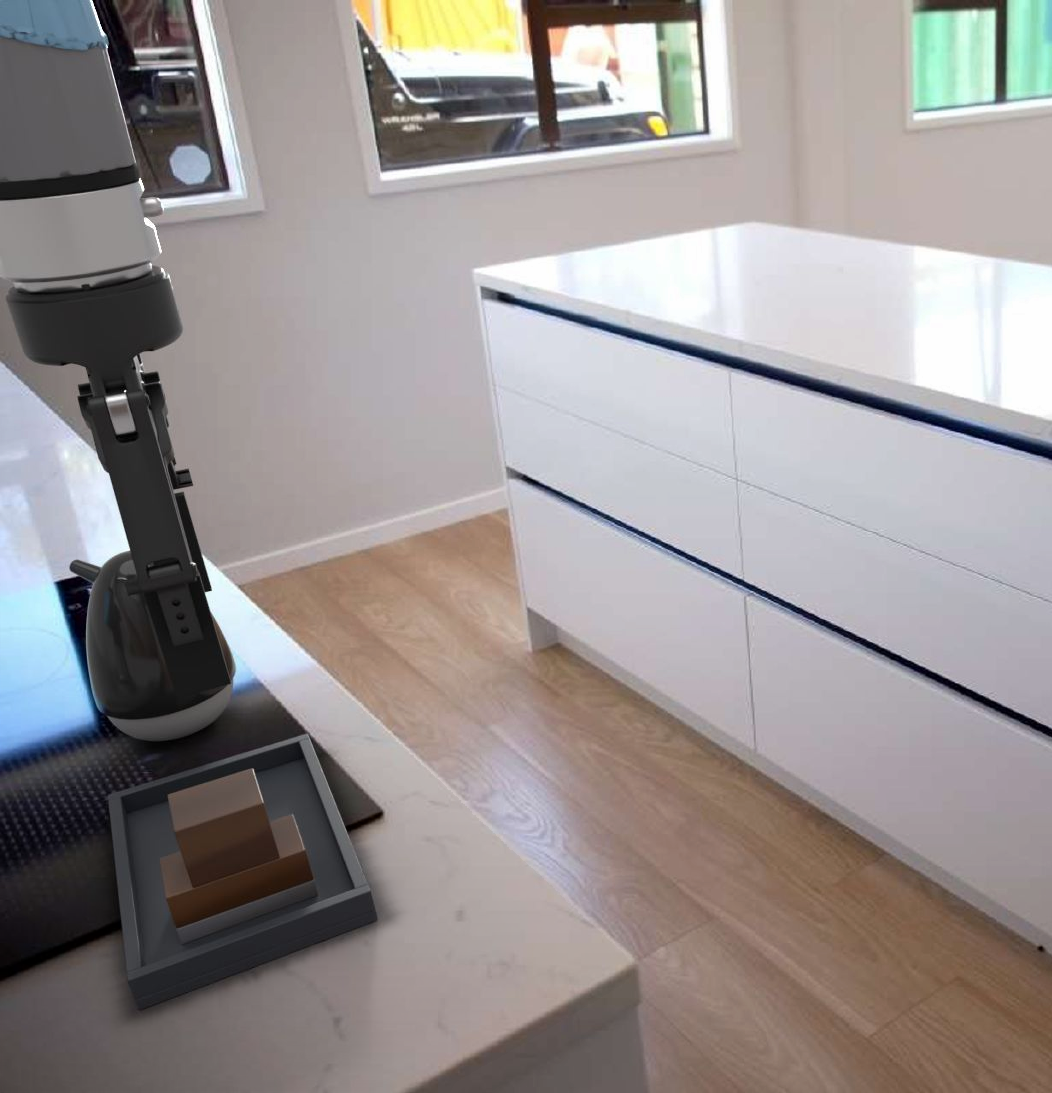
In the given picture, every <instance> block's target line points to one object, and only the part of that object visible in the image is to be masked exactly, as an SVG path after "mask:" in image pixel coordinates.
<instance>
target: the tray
mask: <svg viewBox="0 0 1052 1093" xmlns="http://www.w3.org/2000/svg"><path fill="white" fill-rule="evenodd" d="M251 768H253V769H254V771H255V775H256V778H257V781H258V784H259V788H260V791H261V794H262V797H263V801H264V804H265V807H266V811H267V814H268V818H269V821H270V822H271V821H274V820H277V819H280V818H283V817H286V816H289V815H292V814H293V815H294V817H295V820H296V823H297V826H298V829H299V832H300V835H301V838H302V841H303V844H304V846H305V849H306V853H307V856H308V860H309V864H310V867H311V871H312V874H313V878H314V881H315V885H316V889H317V892H318V895H317V896H314V897H311V898H308V899H306V900H303V901H300V902H297V903H295V904H292V905H289V906H286V907H284V908H281V909H278V910H275V911H273V912H270V913H267V914H264V915H262V916H259V917H256V918H253V919H251V920H248V921H245V922H242V923H240V924H237V925H234V926H231V927H229V928H226V929H223V930H220V931H218V932H215V933H212V934H209V935H207V936H204V937H201V938H198V939H196V940H193V941H190V942H187V943H185V944H181V941H180V939H179V936H178V933H177V930H176V927H175V924H174V921H173V918H172V915H171V912H170V909H169V906H168V904H167V901H166V897H165V891H164V884H163V878H162V872H161V866H160V858H163V857H166V856H169V855H172V854H175V853H178V852H181V851H180V848H179V845H178V842H177V839H176V836H175V833H174V828H173V823H172V818H171V812H170V807H169V801H168V795H169V794H172V793H175V792H178V791H181V790H184V789H187V788H191V787H194V786H197V785H200V784H203V783H207V782H210V781H213V780H216V779H219V778H223V777H226V776H229V775H232V774H235V773H239V772H242V771H245V770H248V769H251ZM107 802H108V810H109V819H110V821H109V822H110V829H111V830H110V831H111V838H112V847H113V858H114V865H115V877H116V884H117V885H116V886H117V895H118V903H119V913H120V923H121V931H122V941H123V951H124V960H125V968H126V970H125V971H126V978H127V980H126V981H127V983H128V985H129V988H130V991H131V994H132V996H133V999H134V1002H135V1004H136V1007H137V1009H138V1011H142V1010H143V1009H146V1008H150V1007H152V1006H154V1005H155V1006H156V1005H157V1004H160V1003H162V1002H164V1001H168V1000H170V999H173V998H176V997H178V996H180V995H183V994H186V993H189V992H191V991H194V990H196V989H199V988H202V987H205V986H207V985H211V984H213V983H215V982H218V981H221V980H222V979H226V978H228V977H231V976H233V975H236V974H239V973H242V972H245V971H247V970H249V969H252V968H254V967H258V966H260V965H262V964H265V963H268V962H270V961H273V960H276V959H278V958H281V957H285V956H286V955H289V954H291V953H294V952H296V951H299V950H303V949H304V948H307V947H310V946H313V945H315V944H318V943H321V942H323V941H326V940H328V939H331V938H333V937H336V936H338V935H342V934H344V933H347V932H349V931H352V930H354V929H357V928H360V927H362V926H365V925H368V924H370V923H373V922H376V921H378V920H379V917H378V914H377V910H376V906H375V902H374V899H373V898H374V897H373V895H372V894H373V893H372V891H371V888H370V886H369V882H368V881H367V880H368V879H367V878H366V875H365V873H364V871H363V868H362V866H361V863H360V860H359V858H358V856H357V852H356V850H355V848H354V846H353V843H352V840H351V838H350V834H348V830H347V828H346V826H345V823H344V821H343V818H342V816H341V812H340V810H339V807H338V805H337V803H336V801H335V798H334V796H333V793H332V790H331V788H330V785H329V784H328V781H327V778H326V775H325V773H324V771H323V767H322V765H321V762H320V760H319V757H318V755H317V753H316V751H315V747H314V744H313V743H312V741H311V737H310V735H309V733H304V734H301V735H299V736H295V737H292V738H288V739H285V740H282V741H278V742H276V743H272V744H269V745H266V746H262V747H259V748H256V749H253V750H250V751H246V752H242V753H239V754H236V755H233V756H230V757H226V758H223V759H220V760H216V761H214V762H210V763H206V764H204V765H201V766H198V767H194V768H191V769H188V770H184V771H180V772H177V773H175V774H171V775H167V776H164V777H162V778H158V779H155V780H152V781H148V782H146V783H141V784H139V785H135V786H133V787H129V788H126V789H122V790H119V791H116V792H112V793H109V794H108V795H107Z"/></svg>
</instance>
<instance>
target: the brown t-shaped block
mask: <svg viewBox="0 0 1052 1093" xmlns="http://www.w3.org/2000/svg"><path fill="white" fill-rule="evenodd" d="M168 801H169V807H170V812H171V818H172V823H173V828H174V833H175V836H176V839H177V842H178V845H179V848H180V851H181V852H178V853H175V854H172V855H169V856H166V857H163V858H160V866H161V872H162V878H163V884H164V891H165V897H166V901H167V904H168V906H169V909H170V912H171V915H172V918H173V921H174V924H175V927H176V930H177V933H178V936H179V939H180V941H181V944H185V943H187V942H190V941H193V940H196V939H198V938H201V937H204V936H207V935H209V934H212V933H215V932H218V931H220V930H223V929H226V928H229V927H231V926H234V925H237V924H240V923H242V922H245V921H248V920H251V919H253V918H256V917H259V916H262V915H264V914H267V913H270V912H273V911H275V910H278V909H281V908H284V907H286V906H289V905H292V904H295V903H297V902H300V901H303V900H306V899H308V898H311V897H314V896H317V895H318V892H317V889H316V885H315V881H314V878H313V874H312V871H311V867H310V864H309V860H308V856H307V853H306V849H305V846H304V844H303V841H302V838H301V835H300V832H299V829H298V826H297V823H296V820H295V817H294V815H293V814H292V815H289V816H286V817H283V818H280V819H277V820H274V821H271V822H270V821H269V818H268V814H267V811H266V807H265V804H264V801H263V797H262V794H261V791H260V788H259V784H258V781H257V778H256V775H255V771H254V769H253V768H251V769H248V770H245V771H242V772H239V773H235V774H232V775H229V776H226V777H223V778H219V779H216V780H213V781H210V782H207V783H203V784H200V785H197V786H194V787H191V788H187V789H184V790H181V791H178V792H175V793H172V794H169V795H168Z"/></svg>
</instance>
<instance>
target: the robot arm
mask: <svg viewBox="0 0 1052 1093" xmlns="http://www.w3.org/2000/svg"><path fill="white" fill-rule="evenodd" d="M95 8H96V7H95V6H94V2H93V0H0V278H1V279H3V280H5V281H8V282H9V283H13V286H12V287H10V288H9V290H8V291H7V292H8V294H6V295H5V301H6V304H7V307H8V310H9V313H10V317H11V319H12V322H13V325H14V328H15V331H16V334H17V337H18V340H19V344H20V347H21V350H22V352H23V354H24V356H25V357H26V358H27V359H28V360H30V361H32V362H34V363H36V364H39V365H43V366H52V367H53V366H54V367H64V366H67V365H72V364H73V365H76V366H80V367H83V368H85V371H86V375H87V379H88V382H84V383H78V384H77V390H78V393H79V395H77V403H78V406H79V410H80V415H81V416H82V419H83V422H84V423H85V425H86V427H87V428H88V429H89V430H90V431H91V436H92V439H93V443H94V447H95V451H96V455H97V458H98V461H99V463H100V464H101V467H102V468H103V470H104V472H105V473H107V474H108V475H109V479H110V483H111V488H112V490H113V493H114V498H115V500H116V504H117V509H118V512H119V516H120V518H121V522H122V526H123V530H124V533H125V537H126V540H127V544H128V547H129V551H130V552H131V555H132V559H133V563H134V566H135V570H136V573H137V575H136V577H137V578H134V579H129V580H125V581H124V584H125V587H126V591H127V593H128V595H129V596H131V595H135V594H139V593H143V594H144V597H145V600H146V603H147V606H148V609H149V612H150V615H151V619H152V622H153V625H154V628H155V631H156V634H157V638H158V641H159V644H160V647H161V650H162V653H163V657H164V660H165V663H166V666H167V669H168V672H169V675H170V679H171V682H172V685H173V688H174V691H175V694H176V698H180V697H184V696H188V695H191V694H195V693H199V692H203V691H206V690H210V689H214V688H218V687H221V686H225V685H229V684H231V680H230V676H229V673H228V669H227V666H226V662H225V659H224V656H223V652H222V649H221V645H220V642H219V639H218V635H217V632H216V628H215V625H214V622H213V618H212V615H211V613H212V611H211V607H210V605H209V602H208V598H207V595H206V593H209V592H212V591H213V587H212V584H211V581H210V577H209V573H208V571H207V570H208V569H207V566H206V563H205V560H204V557H203V554H202V549H201V546H200V542H199V539H198V536H197V532H196V529H195V525H194V522H193V518H192V515H191V512H190V509H189V505H188V501H187V498H186V495H185V492H184V491H180V492H174V491H175V490H180V489H185V488H190V487H194V482H193V478H192V475H191V472H190V468H184V469H179V470H176V467H175V466H176V465H177V460H176V457H175V451H174V447H173V443H172V440H171V436H170V432H169V427H170V424H169V419H168V414H169V408H168V404H167V401H166V394H165V391H164V387H163V383H162V379H161V377H160V373H159V371H158V370H156V371H149V372H146V368H145V366H144V362H143V358H142V356H141V354H142V353H145V352H155V351H159V350H161V349H163V348H165V347H168V346H169V345H171V344H173V343H175V342H176V341H178V339H180V337H181V336H182V334H183V331H184V324H183V320H182V317H181V314H180V311H179V310H180V309H179V306H178V302H177V299H176V296H175V295H176V294H175V292H174V288H173V285H172V281H171V277H170V274H169V272H168V271H165V270H164V269H163V267H160V266H157V265H154V264H153V265H152V262H155V261H156V260H158V258H159V256H160V255H161V254H162V249H161V245H160V240H159V239H158V235H157V230H156V227H155V225H154V223H152V222H151V221H150V220H149V218H155V217H160V216H162V215H163V214H164V212H165V207H164V204H163V203H162V202H161V199H160V198H159V197H155V196H150V197H149V196H148V197H142V195H143V193H144V191H145V188H144V185H143V182H142V180H141V178H142V177H141V173H140V169H139V165H138V164H137V163H138V161H137V160H136V158H135V154H134V149H133V146H132V142H131V138H130V134H129V130H128V126H127V123H126V119H125V114H124V110H123V107H122V103H121V98H120V96H119V91H118V88H117V84H116V80H115V76H114V75H115V74H114V72H113V68H112V64H111V61H110V56H109V53H108V48H109V47H108V46H109V45H110V44H109V39H108V36H107V34H106V33H105V32H104V31H103V29H102V26H101V24H100V20H99V17H98V14H97V11H96V9H95ZM152 562H153V564H154V566H149V564H150V563H152Z"/></svg>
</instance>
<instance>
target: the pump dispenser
mask: <svg viewBox="0 0 1052 1093" xmlns="http://www.w3.org/2000/svg"><path fill="white" fill-rule="evenodd" d="M149 566H154V564H153V562H152V563H150V564H149ZM68 567H69V571H70V572H71V573H72V574H75V575H76V576H77V577H81V578H82V579H84V580H86V581H88V582H90V583H92V586H91V589H90V593H89V599H88V605H87V614H86V615H87V616H86V630H85V636H86V637H85V644H86V645H85V646H86V647H85V648H86V660H87V668H88V669H87V670H88V675H89V676H88V677H89V680H90V687H91V691H92V695H93V699H94V702H95V705H96V708H97V709H98V711H99V712H100V713H102V714H103V715H104V716H106V717H107V718H108V720H109V721H110V723H112V725H114V726H115V727H116V728H117V729H118V730H120V731H121V732H122V733H124V734H126V735H127V736H130V737H132V738H134V739H138V740H141V741H148V742H167V741H173V740H177V739H182V738H185V737H189V736H191V735H193V734H195V733H198V732H199V731H201V730H203V729H204V728H207V727H208V726H210V725H211V724H212V723H214V722H215V721H216V720H217V719H218V718H219V717H220V715H222V713H223V712H224V711H225V709H226V708H227V706H228V705H229V702H230V700H231V697H232V694H233V690H234V678H235V676H236V672H237V665H236V662H235V658H234V655H233V652H232V650H231V647H230V645H229V643H228V641H227V638H226V636H225V635H224V633H223V631H222V629H221V627H220V625H219V623H218V621H217V620H216V617H215V616H214V615H213V613H212V612H211V615H212V618H213V622H214V625H215V628H216V632H217V635H218V639H219V642H220V645H221V649H222V652H223V656H224V659H225V662H226V666H227V669H228V673H229V676H230V680H231V684H229V685H225V686H221V687H218V688H214V689H210V690H206V691H203V692H199V693H195V694H191V695H188V696H184V697H180V698H176V694H175V691H174V688H173V685H172V682H171V679H170V675H169V672H168V669H167V666H166V663H165V660H164V657H163V653H162V650H161V647H160V644H159V641H158V638H157V634H156V631H155V628H154V625H153V622H152V619H151V615H150V612H149V609H148V606H147V603H146V600H145V597H144V594H143V593H139V594H135V595H131V596H129V595H128V593H127V591H126V587H125V584H124V581H125V580H129V579H134V578H137V577H136V575H137V573H136V570H135V566H134V563H133V559H132V555H131V552H130V550H126V551H123V552H120V553H117V554H116V555H114V556H111V557H110V558H109V559H108V560H107V561H105V562H104V563H103V564H102V566H99V565H95V564H93V563H90V562H87V561H84V560H81V559H74V560H72V561H71V562H70V564H69V566H68Z"/></svg>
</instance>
